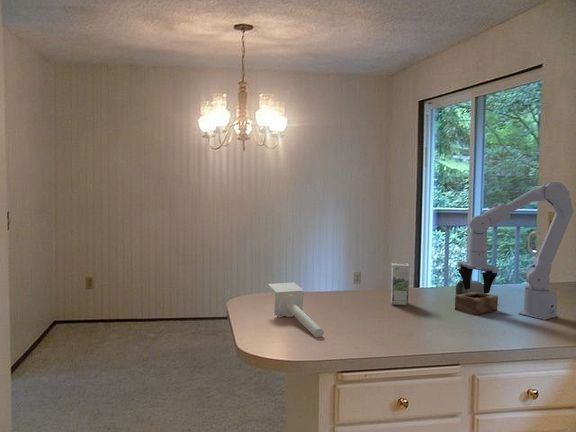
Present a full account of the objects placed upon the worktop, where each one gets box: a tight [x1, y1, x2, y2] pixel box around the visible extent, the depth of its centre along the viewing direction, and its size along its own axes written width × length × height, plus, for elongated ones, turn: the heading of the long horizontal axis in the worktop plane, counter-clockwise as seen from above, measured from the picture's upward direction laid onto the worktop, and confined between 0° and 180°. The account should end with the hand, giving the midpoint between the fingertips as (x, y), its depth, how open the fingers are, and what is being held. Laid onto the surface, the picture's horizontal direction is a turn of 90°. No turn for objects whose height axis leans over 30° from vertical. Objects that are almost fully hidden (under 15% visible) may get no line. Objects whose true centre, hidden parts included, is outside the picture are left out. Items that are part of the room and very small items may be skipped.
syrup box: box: [390, 262, 410, 307], centre depth 195 cm, size 6×6×14 cm
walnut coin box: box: [454, 292, 499, 316], centre depth 188 cm, size 11×9×5 cm
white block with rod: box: [267, 282, 325, 338], centre depth 169 cm, size 9×9×32 cm
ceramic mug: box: [455, 279, 486, 295], centre depth 204 cm, size 11×8×8 cm
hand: (476, 291), depth 187 cm, fingers open, 7 cm apart
